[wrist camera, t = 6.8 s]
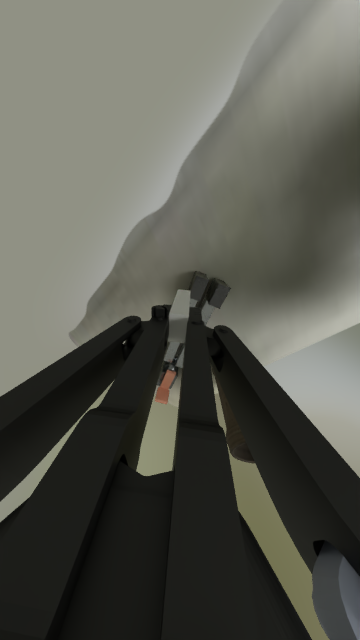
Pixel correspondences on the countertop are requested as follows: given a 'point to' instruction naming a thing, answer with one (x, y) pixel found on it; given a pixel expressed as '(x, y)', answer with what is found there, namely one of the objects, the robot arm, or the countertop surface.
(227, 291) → the tongs base
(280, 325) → the countertop surface
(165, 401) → the lock tab
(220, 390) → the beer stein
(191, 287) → the tong arm
